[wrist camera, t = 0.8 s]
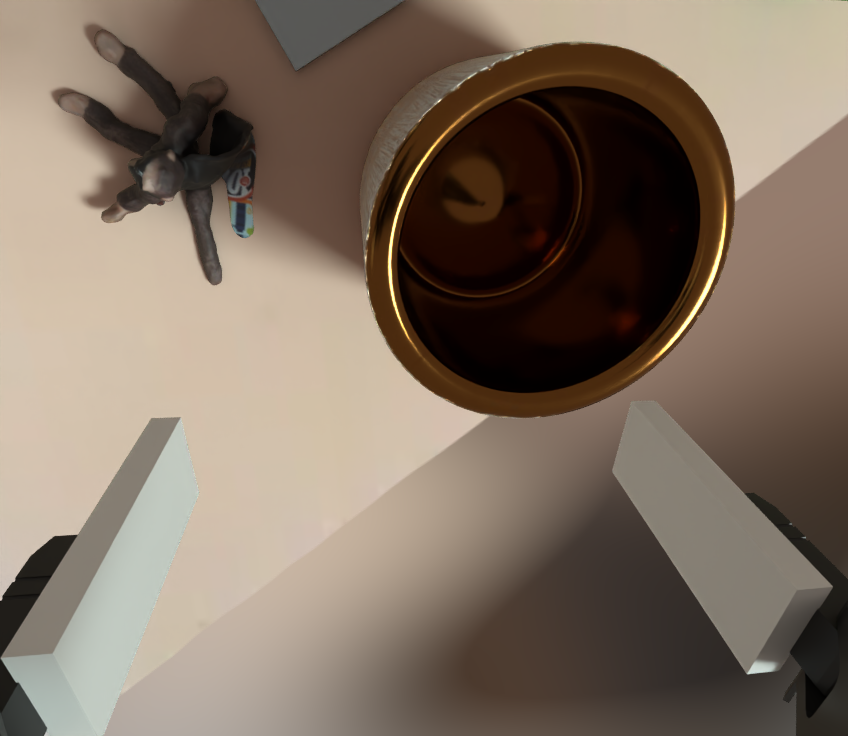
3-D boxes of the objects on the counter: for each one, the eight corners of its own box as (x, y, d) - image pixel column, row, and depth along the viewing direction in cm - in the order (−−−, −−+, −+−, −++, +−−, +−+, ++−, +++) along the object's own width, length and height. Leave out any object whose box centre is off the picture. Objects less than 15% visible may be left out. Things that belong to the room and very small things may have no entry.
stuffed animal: (142, -17, 28) (248, 151, 27) (242, 81, 38) (324, 208, 36) (3, 118, 30) (95, 280, 29) (132, 178, 40) (205, 302, 38)
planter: (329, 90, 32) (308, 91, 19) (597, 31, 32) (770, -11, 19) (390, 333, 41) (405, 453, 27) (600, 286, 41) (720, 383, 28)
